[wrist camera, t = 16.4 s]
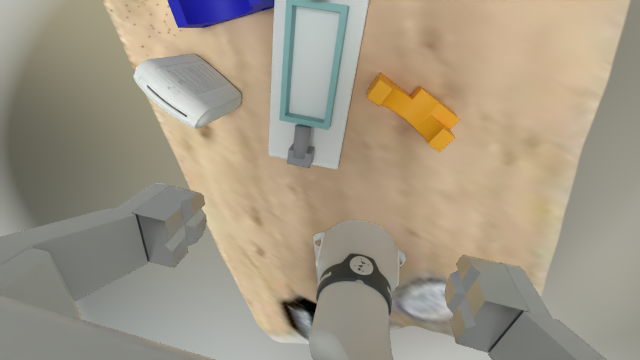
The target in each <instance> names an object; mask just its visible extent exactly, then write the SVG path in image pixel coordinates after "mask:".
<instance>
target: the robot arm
mask: <svg viewBox="0 0 640 360" xmlns="http://www.w3.org/2000/svg"><path fill="white" fill-rule="evenodd" d="M204 205H205V201H204V196H203V195H202V194H201V193H198V192H194V191H191V190H187V189H183V188H179V187H175V186H170V185H166V184H162V183H153V184H152V185H150V186H149V187H147V188H146V189H144V190H143V191H141V192H140V193H138V194H137V195H135V196H134V197H132V198H131V199H129V200H128V201H126V202H125V203H123V204H122V205H120V206H119V207H117V208H116V209H111V208H109V209H105V210H101V211H97V212H93V213H89V214H86V215H82V216H78V217H74V218H70V219H66V220H63V221H59V222H55V223H51V224H47V225H44V226H40V227H36V228H32V229H28V230H24V231H21V232H17V233H13V234H9V235H6V236H2V237H0V360H215V359H212V358H209V357H205V356H202V355H199V354H195V353H192V352H188V351H185V350H182V349H179V348H175V347H172V346H169V345H165V344H162V343H158V342H155V341H152V340H149V339H145V338H142V337H139V336H136V335H132V334H128V333H125V332H122V331H119V330H116V329H112V328H109V327H105V326H102V325H99V324H95V323H92V322H89V321H86V320H82V319H81V313H80V311H79V309H78V307H77V305H76V303H75V301H77V300H79V299H81V298H83V297H85V296H87V295H89V294H90V293H92V292H94V291H96V290H98V289H100V288H102V287H104V286H106V285H108V284H110V283H112V282H113V281H115V280H117V279H119V278H121V277H123V276H125V275H127V274H129V273H131V272H132V271H134V270H136V269H138V268H140V267H142V266H144V265H146V264H148V262H151V263H155V264H160V265H164V266H168V267H173V268H175V267H176V266H177V264H178V263H179V262H180V261H181V260H182V259H183V258H184V256H185V255H186V254H187V253H188V246H189V245H192V244H194V243H196V242H197V241H198V240H199V239H200V238H201V237H202V235H203V232H204V230H205V228H206V222H207V220H206V214H205V213H204V212H203V210H202V209H201V208H202V207H203V206H204ZM316 240H320V241H321V244H320V246H318V245H316V243H315V241H316ZM313 241H314V252H315V263H316V273H317V283H318V288H317V298H316V299H317V307H316V311H315V315H314V319H313V323H312V328H311V332H310V336H309V347H310V352H311V356H312V358H313V360H393V356H392V350H391V342H390V333H389V315H390V313H391V305H392V294H391V292H394V291H395V289H396V286H398V285H399V269H400V267H401V266H402V265H403V263H404V262H405V261H406V256H405V254H404V253H403V252H402V251H401V250H399V249H398V248H397V246H396V244H395V242H394V241H393V239H392V237H391V236H390V235H389V233H388V232H387V231H386V230H384V229H383V228H382V227H380V226H379V225H377V224H375V223H372V222H369V221H365V220H347V221H343V222H340V223H338V224H336V225H334V226H333V227H331V228H330V229H328V230H327V231H324V232H320V233H317V234H315V235H314V236H313ZM399 260H401V261H402V263H401V264H399ZM456 265H457V268H458V271H456V272H454V273H452V274H450V276H449V278H448V280H447V283H446V288H445V299H446V304H447V307H448V308H449V309H450V310H451V311H452V313H453V314H454V315H453V317H452V319H451V320H450V321H451V325H452V329H453V333H454V337H455V342H456V343H457V344H460V345H463V346H467V347H470V348H474V349H477V350H480V351H484V352H487V353H489V354H488V355H489V356H490V358H491V359H492V360H607V359H606V358H604V357H603V356H602V355H601V354H600V353H598V352H597V351H596V350H595V349H594V348H592V347H591V346H590V345H589V344H587V343H586V342H585V341H584V340H583V339H581V338H580V337H579V336H578V335H577V334H575V333H574V332H573V331H572V330H571V329H570V328H568V327H567V326H566V325H564V324H563V323H562V322H561V321H560V320H557V319H553V318H552V316H551V314H550V313H549V311H548V310H547V308H546V306H545V304H544V303H543V301H542V299H541V298H540V296H539V294H538V293H537V291H536V289H535V288H534V286H533V284H532V283H531V281H530V279H529V278H528V276H527V274H526V273H525V271H524V270H523V269H522V268H521V267H519V266H515V265H510V264H505V263H498V262H494V261H489V260H485V259H481V258H476V257H472V256H468V255H462V256H461V257H460V258H459V260H458V262H457V263H456Z"/></svg>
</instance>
